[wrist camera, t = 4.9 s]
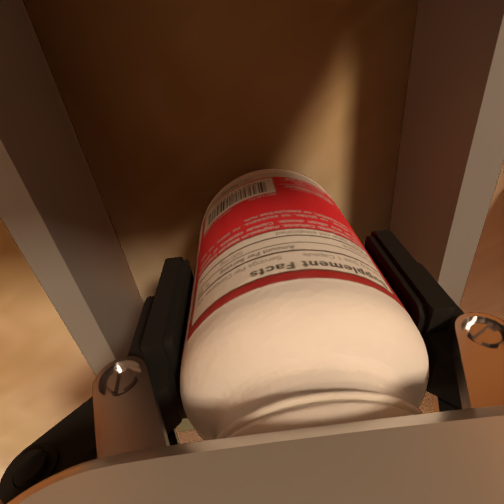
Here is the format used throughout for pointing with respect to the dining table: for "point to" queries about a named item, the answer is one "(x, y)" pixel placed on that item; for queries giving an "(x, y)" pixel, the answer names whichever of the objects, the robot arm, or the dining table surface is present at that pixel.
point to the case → (405, 190)
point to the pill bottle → (292, 317)
